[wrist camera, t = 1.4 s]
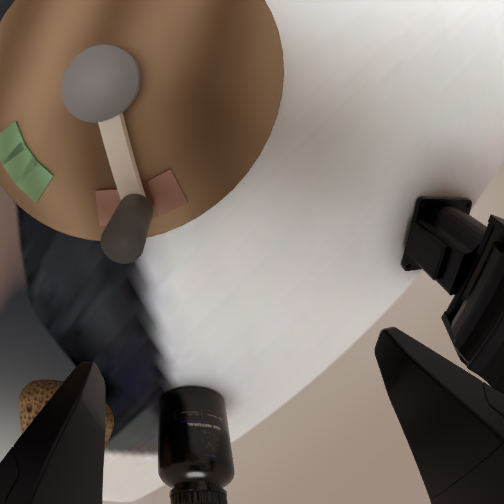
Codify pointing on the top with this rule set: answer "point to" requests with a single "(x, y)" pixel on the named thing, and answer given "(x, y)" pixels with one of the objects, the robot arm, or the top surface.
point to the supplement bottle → (194, 446)
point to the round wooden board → (137, 106)
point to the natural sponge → (39, 395)
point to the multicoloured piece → (112, 139)
